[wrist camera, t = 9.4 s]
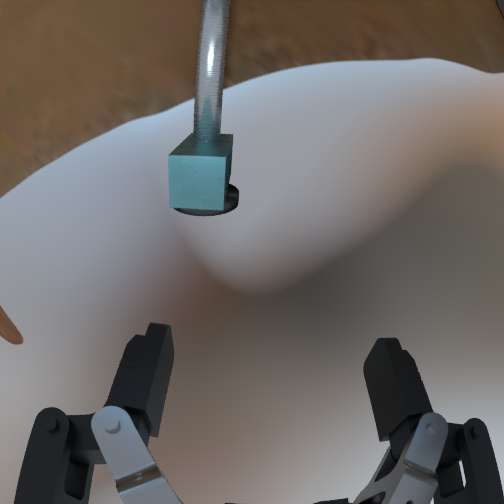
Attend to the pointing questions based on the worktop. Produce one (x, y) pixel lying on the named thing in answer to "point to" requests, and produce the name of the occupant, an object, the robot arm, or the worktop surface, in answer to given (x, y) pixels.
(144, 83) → the worktop surface
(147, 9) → the worktop surface
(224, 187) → the rod with teal cap
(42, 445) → the robot arm
